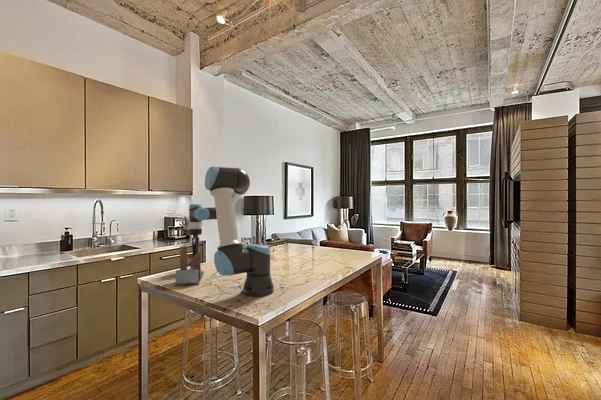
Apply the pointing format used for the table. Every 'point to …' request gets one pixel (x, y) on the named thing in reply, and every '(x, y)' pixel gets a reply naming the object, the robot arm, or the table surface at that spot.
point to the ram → (191, 259)
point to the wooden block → (194, 262)
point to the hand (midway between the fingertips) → (195, 265)
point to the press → (188, 277)
